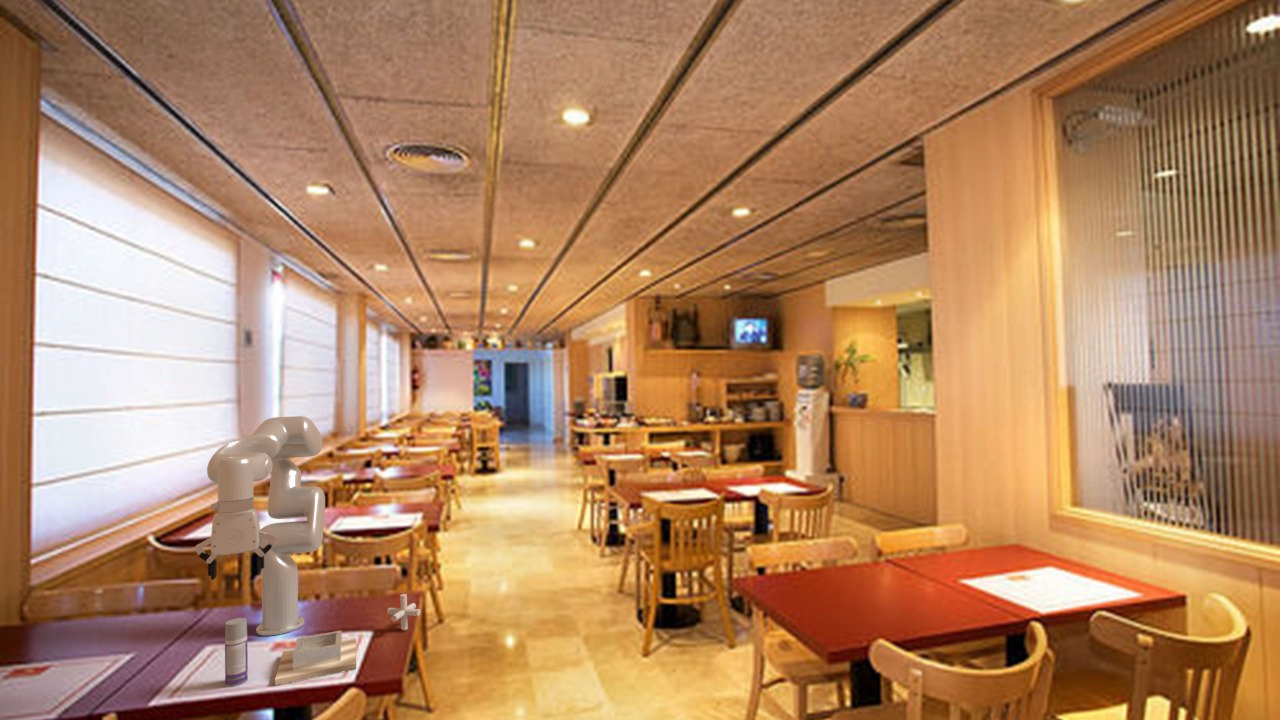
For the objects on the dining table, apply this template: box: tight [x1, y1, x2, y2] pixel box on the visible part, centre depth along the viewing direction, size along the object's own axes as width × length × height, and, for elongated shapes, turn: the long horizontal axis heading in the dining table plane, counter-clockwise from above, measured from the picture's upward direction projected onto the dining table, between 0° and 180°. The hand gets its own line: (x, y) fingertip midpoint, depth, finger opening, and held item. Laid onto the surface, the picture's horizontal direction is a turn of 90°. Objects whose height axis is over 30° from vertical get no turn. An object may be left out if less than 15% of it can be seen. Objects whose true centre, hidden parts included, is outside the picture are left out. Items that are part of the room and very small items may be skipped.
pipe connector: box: [386, 593, 422, 631], centre depth 184 cm, size 10×10×10 cm
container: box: [224, 617, 249, 688], centre depth 154 cm, size 5×5×15 cm
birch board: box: [274, 637, 357, 686], centre depth 163 cm, size 18×18×2 cm
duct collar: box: [293, 630, 343, 670], centre depth 163 cm, size 11×11×4 cm
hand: (236, 575), depth 154 cm, fingers open, 9 cm apart
